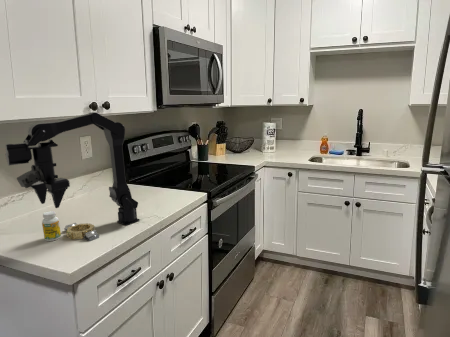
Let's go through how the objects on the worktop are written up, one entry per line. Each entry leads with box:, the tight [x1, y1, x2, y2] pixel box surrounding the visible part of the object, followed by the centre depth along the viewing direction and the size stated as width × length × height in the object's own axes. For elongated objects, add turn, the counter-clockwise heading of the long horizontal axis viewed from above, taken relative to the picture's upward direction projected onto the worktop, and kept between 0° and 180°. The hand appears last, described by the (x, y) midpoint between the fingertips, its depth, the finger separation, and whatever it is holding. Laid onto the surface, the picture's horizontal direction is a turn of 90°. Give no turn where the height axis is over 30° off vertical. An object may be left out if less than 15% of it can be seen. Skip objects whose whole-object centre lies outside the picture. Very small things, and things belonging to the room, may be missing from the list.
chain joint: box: [63, 222, 100, 242], centre depth 127 cm, size 9×17×2 cm, turn 53°
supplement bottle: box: [41, 210, 62, 242], centre depth 123 cm, size 5×5×10 cm
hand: (50, 205), depth 119 cm, fingers open, 9 cm apart
